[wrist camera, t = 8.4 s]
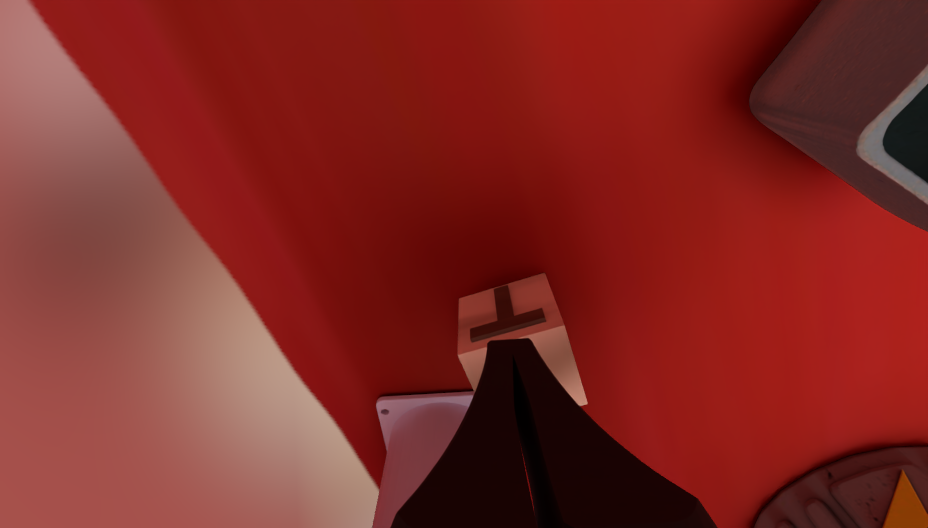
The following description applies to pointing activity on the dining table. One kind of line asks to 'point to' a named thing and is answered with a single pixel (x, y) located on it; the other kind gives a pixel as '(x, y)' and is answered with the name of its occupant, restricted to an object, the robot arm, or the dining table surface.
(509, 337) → the letter cube
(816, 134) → the flower pot
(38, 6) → the dining table surface
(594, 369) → the dining table surface
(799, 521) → the decorative lamp
